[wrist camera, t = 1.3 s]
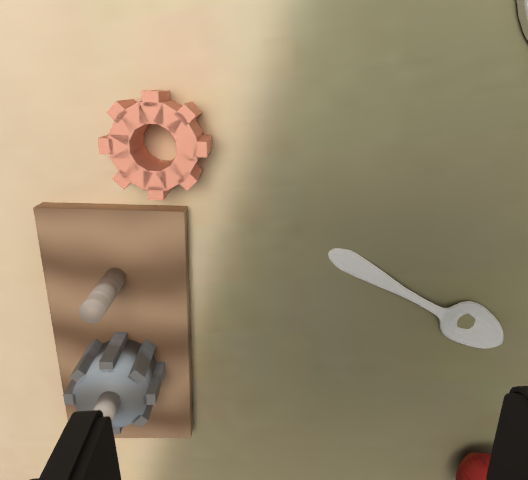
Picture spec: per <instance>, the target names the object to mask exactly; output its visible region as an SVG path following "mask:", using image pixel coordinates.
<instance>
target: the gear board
mask: <svg viewBox="0 0 528 480" xmlns="http://www.w3.org/2000/svg"><path fill="white" fill-rule="evenodd" d="M33 209H34V215H35V221H36V228H37V234H38V240H39V246H40V252H41V258H42V264H43V270H44V277H45V283H46V289H47V295H48V301H49V307H50V313H51V320H52V326H53V332H54V338H55V344H56V350H57V356H58V362H59V369H60V375H61V381H62V387H63V393H64V394H63V396H64V402H65V405H66V411H67V418H68V421H69V419H70V417H71V415H72V414H73V413H74V412H75V411H91V410H101V411H102V412H103V416H104V417H106V416H109V417H110V418H111V421H112V427H113V433H114V438H191V435H192V428H193V407H192V371H191V334H190V298H189V262H188V225H187V206H157V205H120V204H83V203H46V202H43V203H41V204H39V205H37V206H36V207H34V208H33Z"/></svg>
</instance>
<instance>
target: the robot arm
mask: <svg viewBox="0 0 528 480" xmlns="http://www.w3.org/2000/svg"><path fill="white" fill-rule="evenodd" d="M517 8H518V17H519V20H520V23H521V26H522V30H523V33H524V35H525V37H526V39H527V40H528V0H517ZM31 480H121V476H120V470H119V463H118V457H117V451H116V445H115V439H114V433H113V427H112V421H111V418H110V417H109V416H106V417H104V416H103V412H102V411H101V410H91V411H75V412H74V413H73V414H72V415H71V417H70V419H69V421H68V423H67V425H66V426H65V428H64V430H63V432H62V434H61V436H60V438H59V440H58V442H57V444H56V446H55V448H54V450H53V452H52V454H51V456H50V458H49V460H48V462H47V464H46V466H45V468H44V470H43V472H42V474H41V476H40V478H39V479H31ZM486 480H528V386H518V387H513V388H512V389H511V390H510V392H509V394H506V395H505V397H504V400H503V405H502V409H501V413H500V418H499V422H498V427H497V431H496V435H495V440H494V444H493V449H492V453H491V457H490V462H489V466H488V471H487V475H486Z"/></svg>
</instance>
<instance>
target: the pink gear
mask: <svg viewBox="0 0 528 480" xmlns="http://www.w3.org/2000/svg"><path fill="white" fill-rule="evenodd" d="M106 113H107V114H108V115H109V116H110V117H111V118H112V119H113V120H114V123H113V125H112V127H111V129H110V131H109V133H108V135H106V136H103V137H100V138H98V144H99V154H110V159H111V160H112V162H113V163H114V165H115V166H116V168H117V169H118V171H119V172H118V173H117V174H116V175H115V176H114V177H113V178H112V179H113V180H114V181H115V182H116V183H118V184H119V185H120V186H121V187H122V188H123V189H125V188H126V187H127V186H128V185H130V184H131V183H133V184H134V185H136V186H138V187H140V188H141V189H143V190H148V200H164V198H165V197H166V196H167V194H168V193H169V192H170V190H171V189H172V188H173V187H174V186H176V185H178V184H180V185H181V186H182V187H183V188H184V189H185V190H186V191H187V190H188V189H189V188H190V187H191V186H193V185H194V184H195V183H196V182H197V180H198V178H199V177H200V175H201V173H202V171H203V169H202V168H201V167H200V166H199V165H198V164H197V162H198V160H199V158H200V157H207V156H208V154H209V153H210V151H211V149H212V135H203V131H202V129H201V127H200V126H199V124H198V122H197V120H196V118H197V117H198V116H199V115H200V114H201V113H202V111H201V110H200V109H199V108H198V107H197V106H196V105H195V104H194V103H193V102H189V103H185V104H184V105H183V106H181V105H179V104H178V103H176V102H175V101H170V91H159V90H152V91H142V101H141V102H136V101H135V100H134V99H131V100H122V101H116V102H115V103H114V104H113V106H112V107H111V108H110V109H109V110H108V111H107V112H106ZM149 124H159V125H160V126H162V127H164V128H165V129H167V130H169V131H170V133H171V134H172V136H173V138H174V139H175V141H176V149H177V155H176V157H175V159H174V160H172V161H160V160H158V159H157V158H155V157H153V156H152V155H150V153H149V152H148V150H147V148H146V147H145V145H144V133H145V131H146V129H147V127H148V125H149Z"/></svg>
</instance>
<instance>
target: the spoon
mask: <svg viewBox="0 0 528 480" xmlns="http://www.w3.org/2000/svg"><path fill="white" fill-rule="evenodd" d="M328 256H329V259H330V260H331V261H332V263H333V264H334V265H335V266H336V267H338V268H339V269H340V270H342V271H345V272H347V273H349V274H351V275H353V276H355V277H357V278H360V279H362V280H364V281H367V282H369V283H371V284H373V285H376V286H378V287H381V288H383V289H385V290H388V291H390V292H393V293H395V294H398V295H400V296H402V297H404V298H406V299H408V300H410V301H412V302H414V303H416V304H418V305H420V306H422V307H423V308H425V309H427V310H428V311H430V312H432V313H433V314H434V315H436V316H437V317H438V318H439V320H440V329H441V332H442V334H443V335H445V336H446V337H447V338H449V339H450V340H453V341H455V342H458V343H460V344H464V345H467V346H471V347H476V348H486V349H488V348H493V347H496V346H499V345H501V344H502V342H503V329H502V327H501V325H500V323H499V321H498V320H497V319H496V318H495V316H494V315H493V314H492V313H491V312H490V311H489V310H488V309H486V308H485V307H483V306H482V305H480V304H479V303H475V302H471V301H466V302H460V303H458V304H456V305H454V306H451V307H448V308H443V307H440V306H438V305H435V304H433V303H431V302H429V301H427V300H426V299H424V298H422V297H420V296H419V295H417V294H415V293H414V292H412V291H410V290H408V289H407V288H405V287H404V286H402V285H401V284H399V283H398V282H397V281H395V280H394V279H393V278H391V277H390V276H389V275H387V274H386V273H385V272H383V271H382V270H380V269H379V268H377V267H376V266H375V265H373V264H372V263H370V262H369V261H368V260H366V259H364V258H363V257H361V256H359V255H358V254H356V253H355V252H353V251H351V250H346V249H339V248H336V249H332V250H331V251H329V254H328ZM464 314H470V315H471V316H472V317H474V318H475V323H474V326H472V327H471V328H469V329H467V330H466V329H463V328H460V327H457V322H458V319H459V318H460V317H461V316H463V315H464Z"/></svg>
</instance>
